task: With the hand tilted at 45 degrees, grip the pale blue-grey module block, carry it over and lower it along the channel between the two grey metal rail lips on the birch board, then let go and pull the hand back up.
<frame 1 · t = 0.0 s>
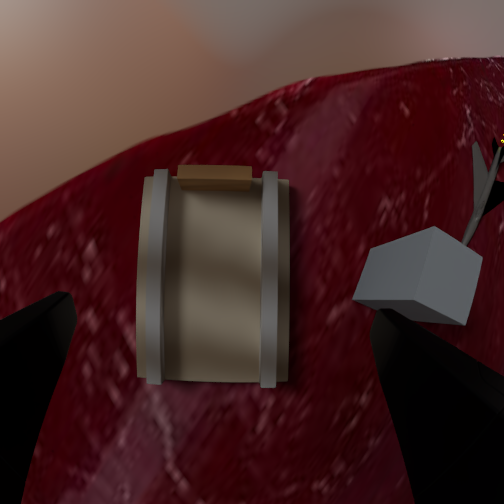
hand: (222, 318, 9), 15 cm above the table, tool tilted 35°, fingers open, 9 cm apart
toy airplane: (487, 179, 28), on the table
module block: (383, 284, 24), on the table
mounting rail: (212, 278, 23), on the table
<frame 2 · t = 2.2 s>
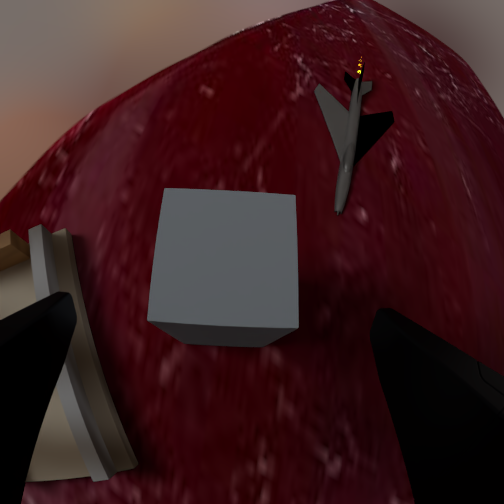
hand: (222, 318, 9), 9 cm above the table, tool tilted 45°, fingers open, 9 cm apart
toy airplane: (351, 119, 25), on the table
module block: (224, 307, 18), on the table
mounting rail: (26, 365, 15), on the table
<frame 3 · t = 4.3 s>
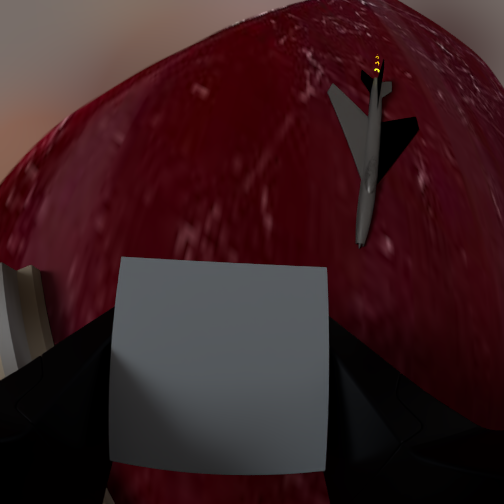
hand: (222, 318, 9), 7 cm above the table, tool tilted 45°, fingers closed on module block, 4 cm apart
toy airplane: (371, 126, 21), on the table
module block: (222, 366, 14), on the table, touching gripper
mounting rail: (1, 418, 12), on the table
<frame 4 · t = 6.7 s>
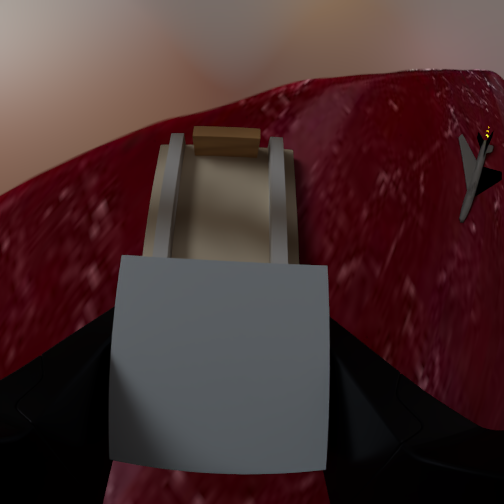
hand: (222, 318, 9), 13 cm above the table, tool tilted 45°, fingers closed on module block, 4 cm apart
toy airplane: (476, 167, 30), on the table
module block: (222, 366, 14), point 7 cm above the table, touching gripper
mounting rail: (221, 234, 24), on the table
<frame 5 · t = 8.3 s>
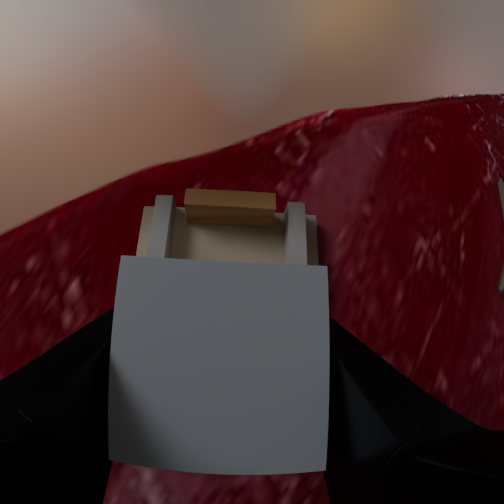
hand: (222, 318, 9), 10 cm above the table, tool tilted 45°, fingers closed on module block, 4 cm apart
module block: (222, 366, 14), point 4 cm above the table, touching gripper
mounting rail: (223, 333, 18), on the table
when the fingers open (9 cm above the table, at t = 9.5 s): module block drops 1 cm, resting on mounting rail.
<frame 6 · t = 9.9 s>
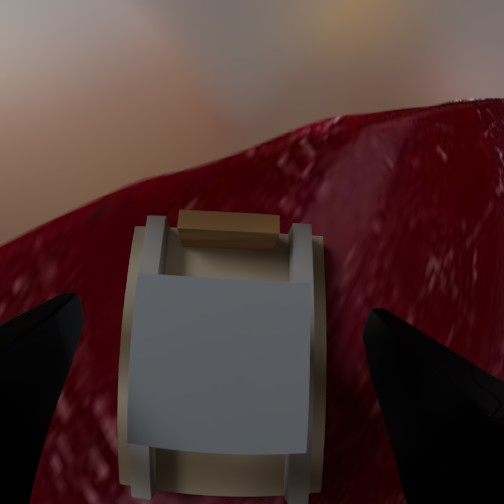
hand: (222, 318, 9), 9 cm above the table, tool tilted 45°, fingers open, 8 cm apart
module block: (221, 365, 16), point 1 cm above the table, touching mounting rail
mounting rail: (222, 366, 17), on the table
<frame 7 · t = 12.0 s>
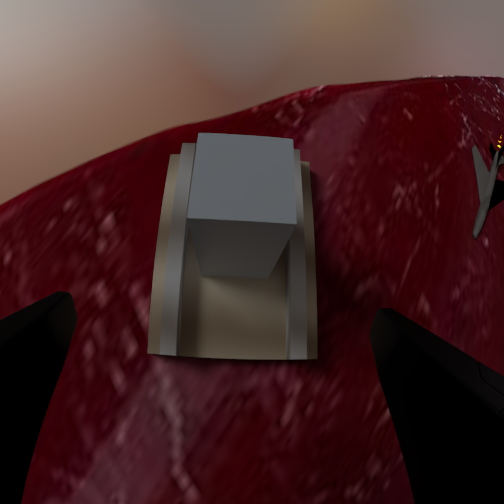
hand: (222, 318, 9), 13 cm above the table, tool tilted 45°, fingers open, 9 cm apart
toy airplane: (488, 179, 29), on the table
module block: (235, 246, 22), point 1 cm above the table, touching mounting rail
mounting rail: (235, 251, 23), on the table
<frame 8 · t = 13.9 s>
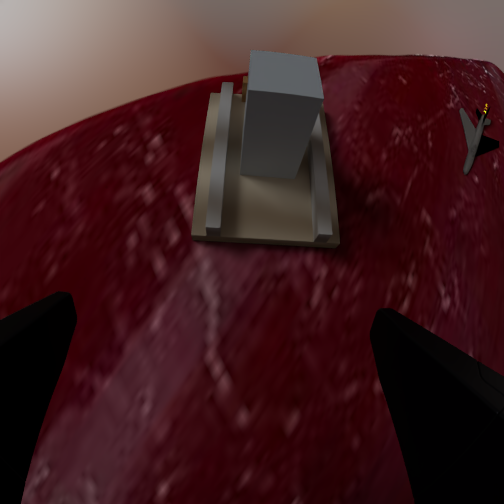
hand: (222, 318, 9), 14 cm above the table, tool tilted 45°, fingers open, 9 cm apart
toy airplane: (476, 135, 33), on the table
module block: (267, 155, 26), point 1 cm above the table, touching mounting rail
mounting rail: (266, 162, 27), on the table
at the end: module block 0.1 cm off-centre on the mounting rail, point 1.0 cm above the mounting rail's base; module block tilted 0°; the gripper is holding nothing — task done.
